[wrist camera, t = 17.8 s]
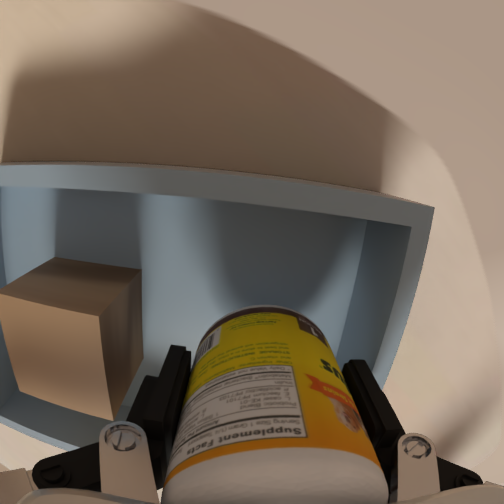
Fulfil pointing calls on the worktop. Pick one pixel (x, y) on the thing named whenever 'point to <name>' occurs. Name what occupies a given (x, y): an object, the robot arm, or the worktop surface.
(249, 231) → the tote
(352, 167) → the worktop surface
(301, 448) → the supplement bottle
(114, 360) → the walnut cube
